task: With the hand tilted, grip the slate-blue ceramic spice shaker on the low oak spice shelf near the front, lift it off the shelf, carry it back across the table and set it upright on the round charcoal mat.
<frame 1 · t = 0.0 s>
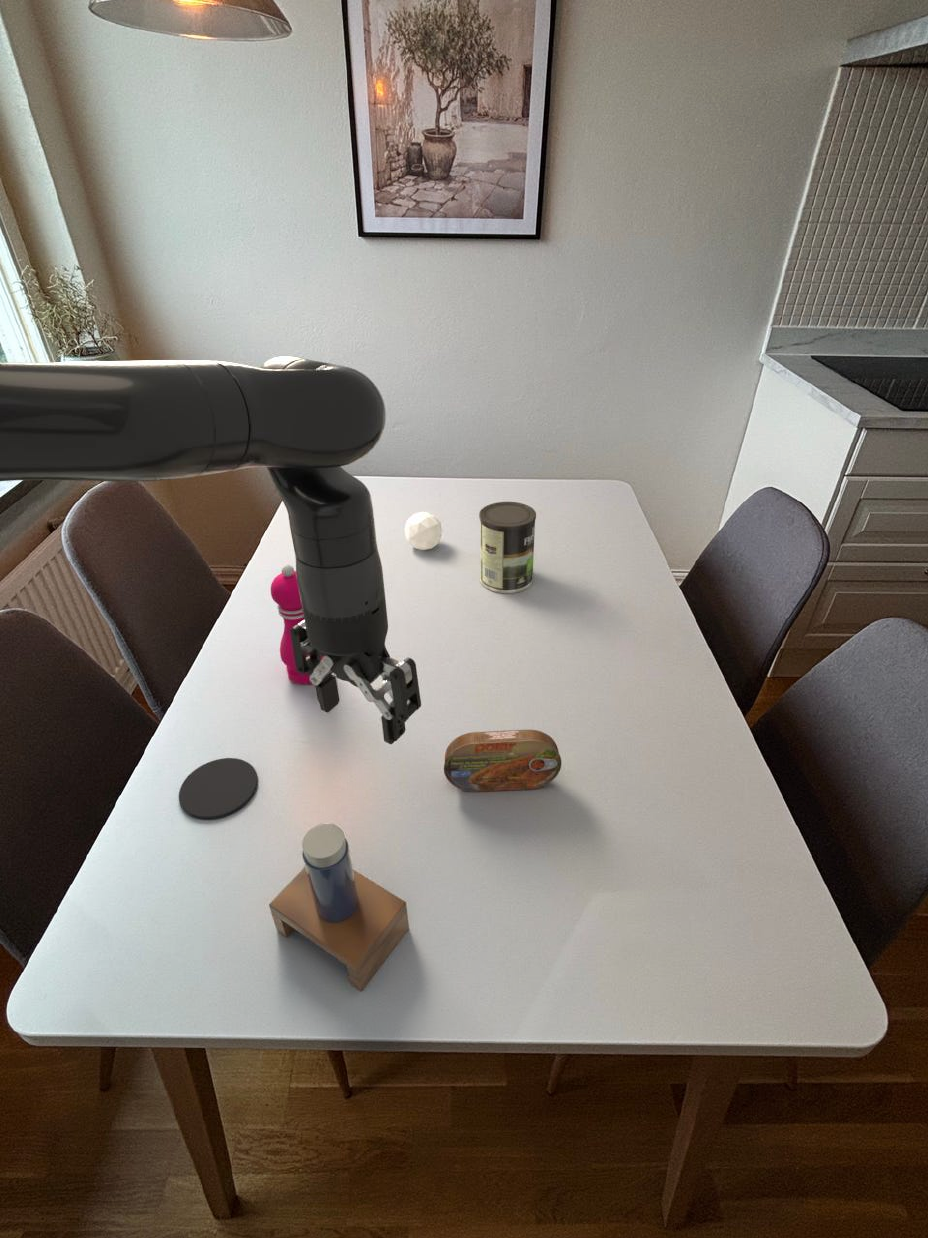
hand: (361, 722, 71), 21 cm above the table, tool pointing down, fingers open, 8 cm apart
shaker: (337, 903, 71), point 5 cm above the table, touching shelf
shelf: (343, 929, 74), on the table
coffee can: (506, 580, 132), on the table
pepper mill: (308, 673, 110), on the table
geometric ball: (424, 547, 143), on the table
tin: (501, 783, 90), on the table
mat: (219, 789, 90), on the table
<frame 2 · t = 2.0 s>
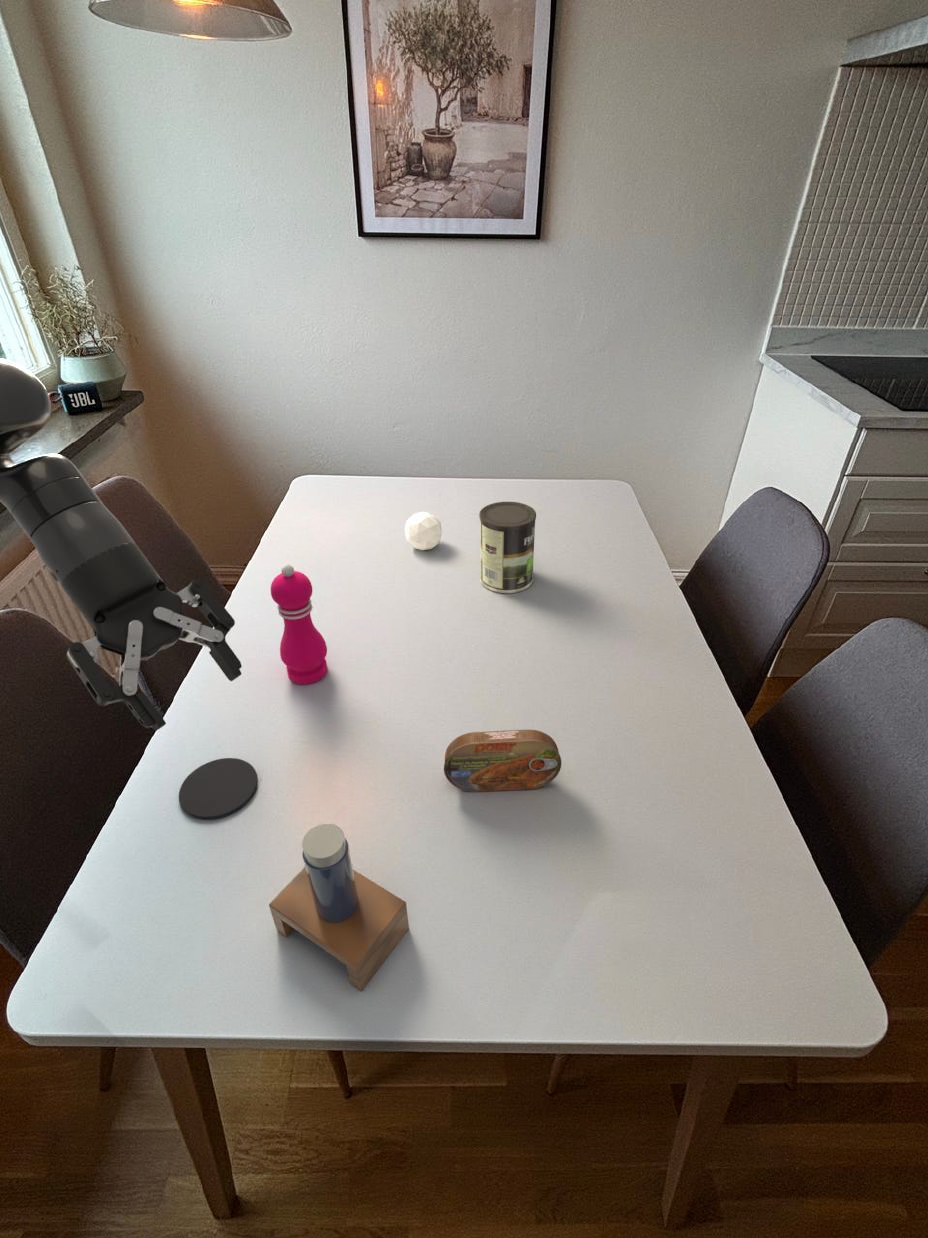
hand: (200, 701, 66), 26 cm above the table, tool tilted 45°, fingers open, 8 cm apart
nothing on the table moved.
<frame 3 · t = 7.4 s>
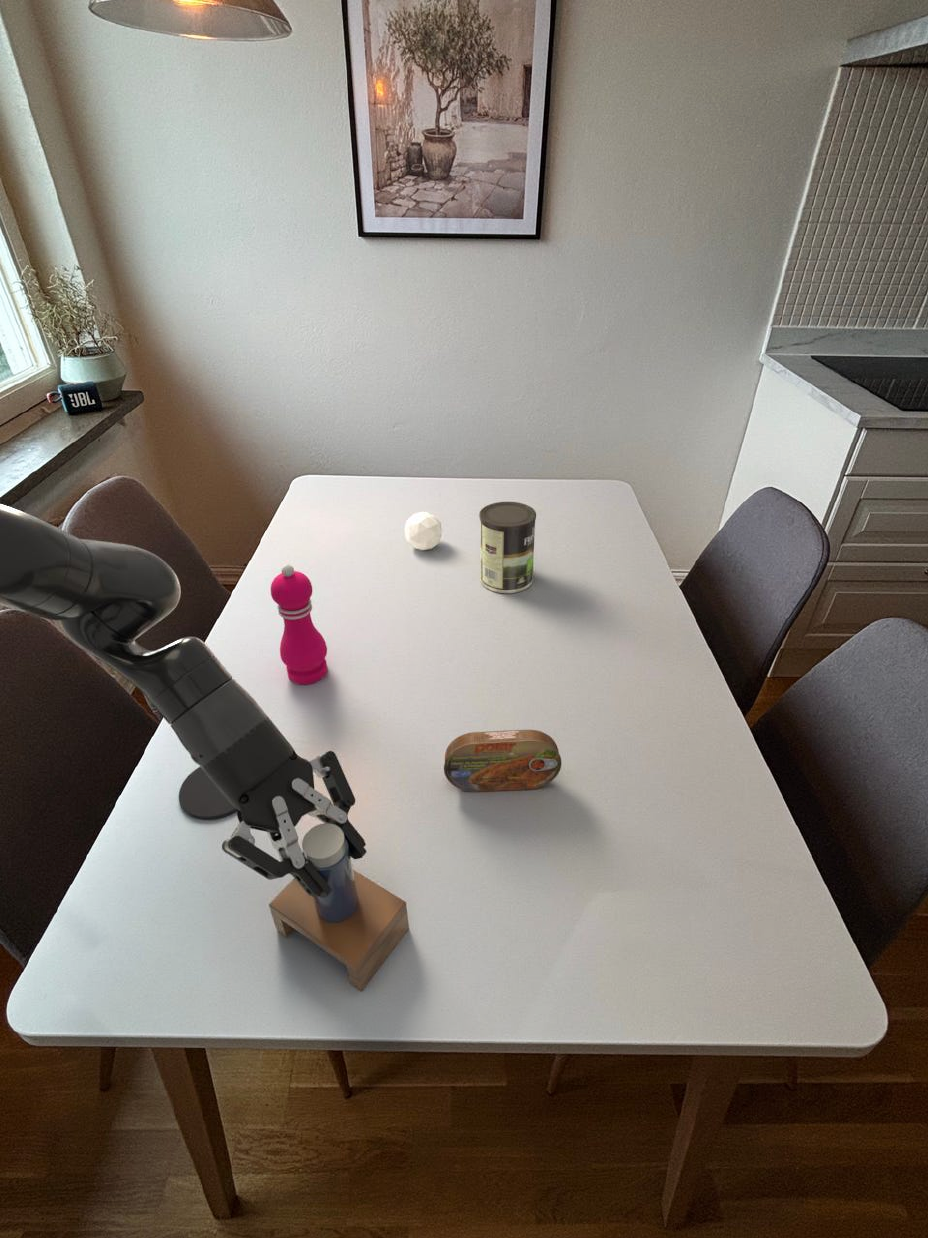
hand: (343, 874, 66), 12 cm above the table, tool tilted 45°, fingers closed on shaker, 4 cm apart
shaker: (337, 903, 71), point 5 cm above the table, touching gripper, shelf
everything else where it was.
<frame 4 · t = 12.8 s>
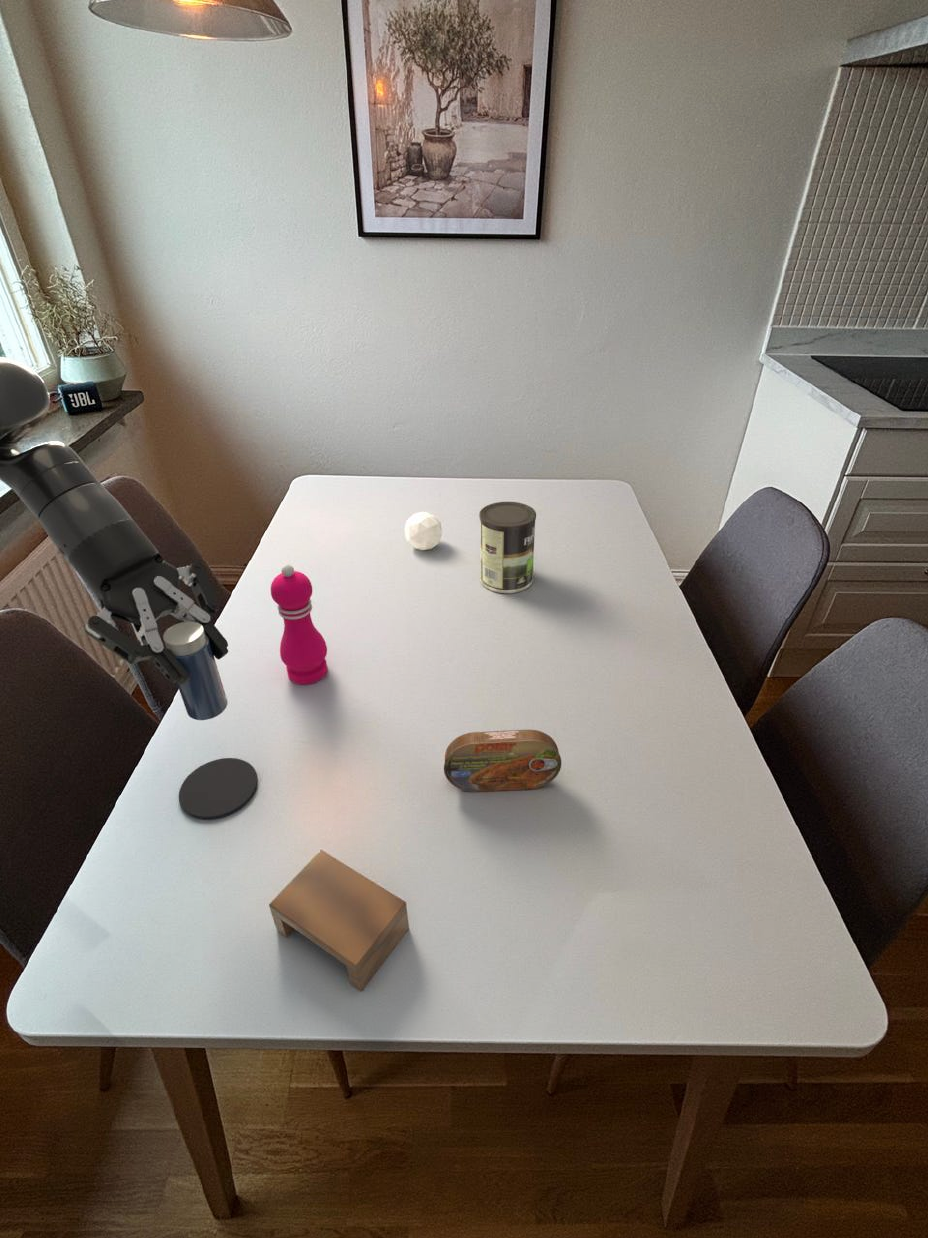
hand: (204, 667, 72), 25 cm above the table, tool tilted 45°, fingers closed on shaker, 4 cm apart
shaker: (207, 706, 77), point 18 cm above the table, touching gripper
everything else where it was.
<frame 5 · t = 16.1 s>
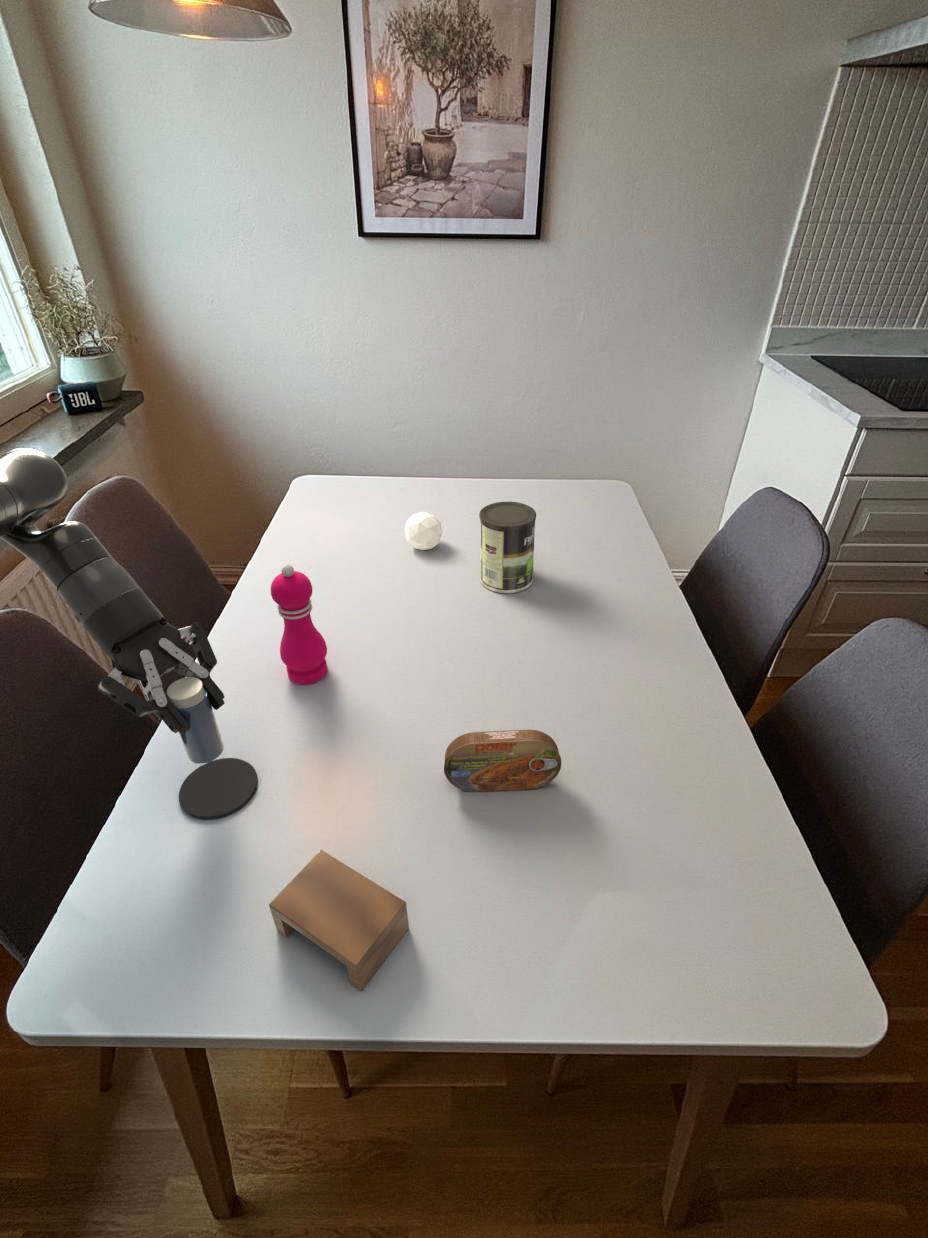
hand: (203, 718, 81), 14 cm above the table, tool tilted 45°, fingers closed on shaker, 4 cm apart
shaker: (205, 750, 86), point 7 cm above the table, touching gripper
everything else where it was.
when the fingers open (7 cm above the table, at t = 18.4 s): shaker stays where it is, resting on mat.
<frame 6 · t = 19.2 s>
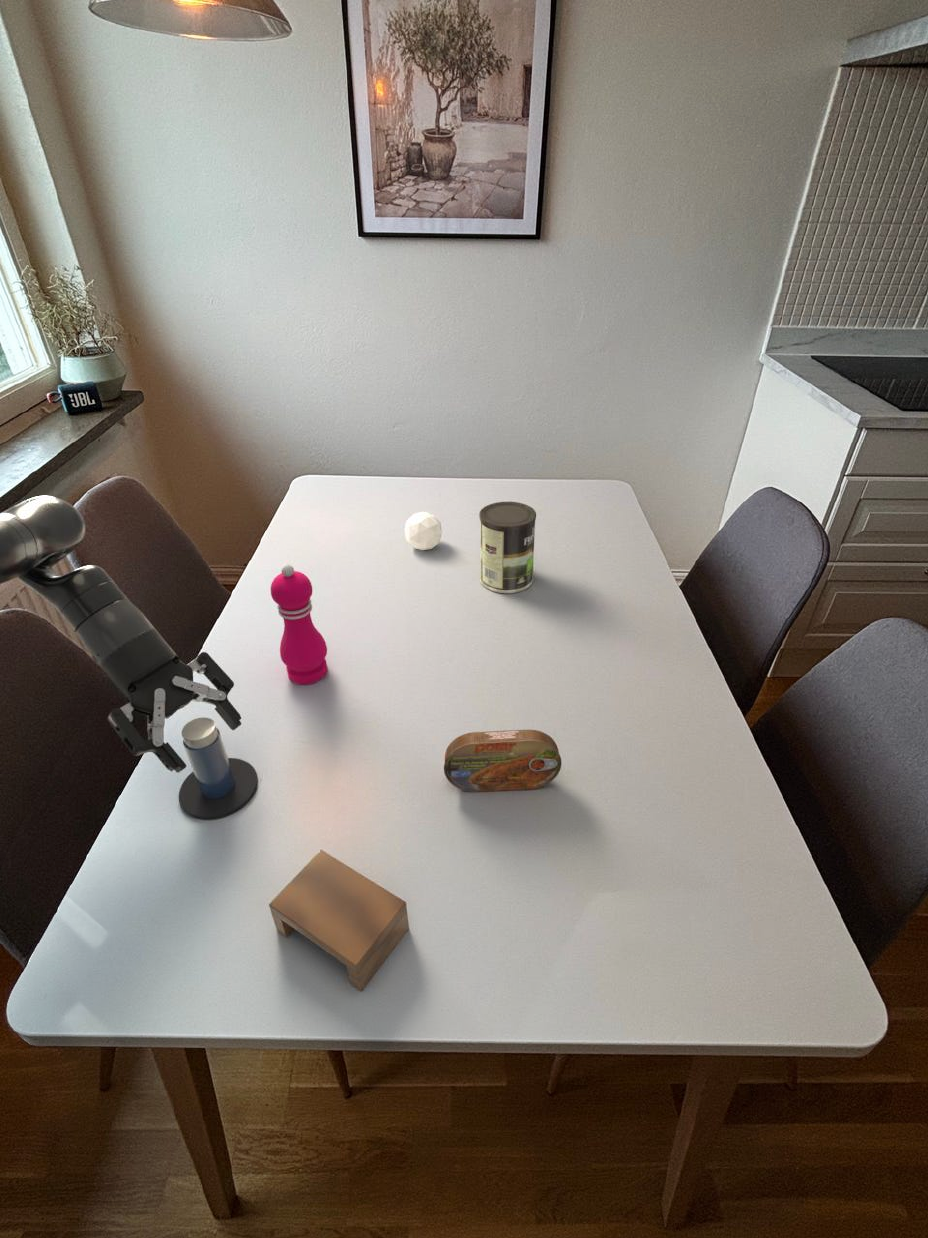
hand: (211, 747, 85), 9 cm above the table, tool tilted 45°, fingers open, 8 cm apart
shaker: (217, 786, 90), point 1 cm above the table, touching mat
everything else where it was.
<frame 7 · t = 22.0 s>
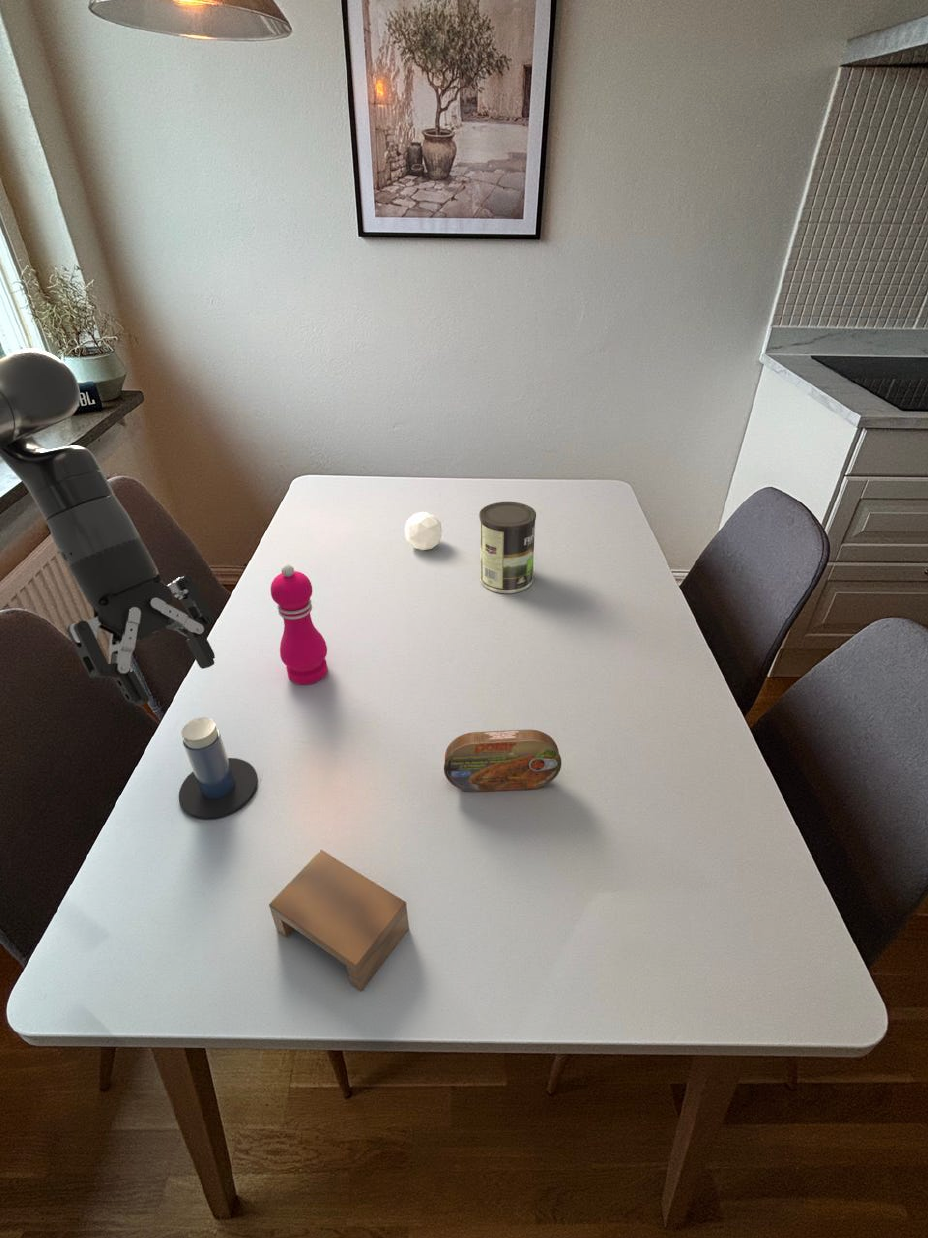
hand: (177, 684, 75), 21 cm above the table, tool tilted 30°, fingers open, 8 cm apart
nothing on the table moved.
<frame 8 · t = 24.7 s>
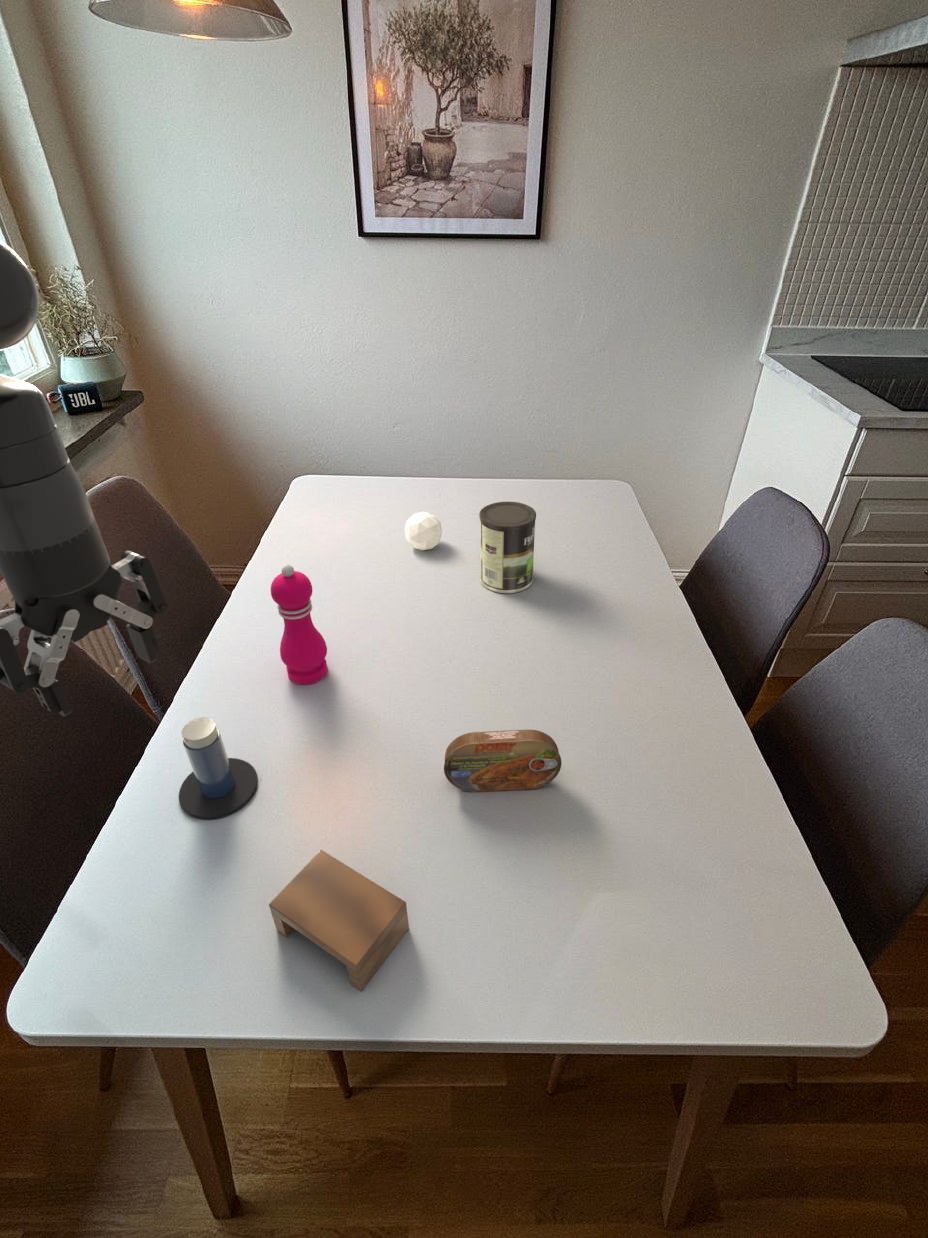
hand: (107, 683, 62), 30 cm above the table, tool pointing down, fingers open, 8 cm apart
nothing on the table moved.
at the end: shaker inside the target area on the mat (0.1 cm from its centre), point 0.6 cm above the mat's base; shaker tilted 0°; the gripper is holding nothing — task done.
